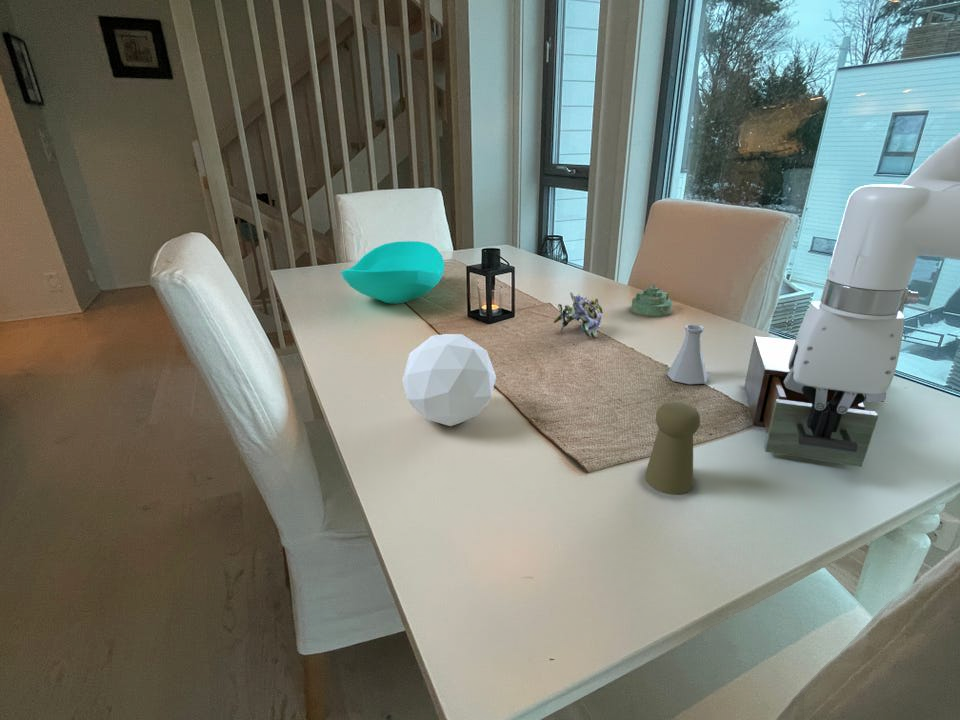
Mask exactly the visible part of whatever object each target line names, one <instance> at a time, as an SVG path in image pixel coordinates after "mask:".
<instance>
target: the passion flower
mask: <svg viewBox="0 0 960 720" xmlns="http://www.w3.org/2000/svg"><path fill="white" fill-rule="evenodd" d="M569 294H570V298H571V301H572V306H571V307H570V304H565V305H564V309H563V304H561V303H558V305H557V308H558V311H559V312H560V314H559V316H557V317H556V318H555V319H554V321H553V324H556V323H558V321H561V320H562V323H561V326H560V332H562V331H563V330H564V328H565V327H567V326H568V325H569V323H570V322H572V321H573V320H576V321H577V322H580V321H581V325H580V331H582V332H583V333H585V336H587V337H588V338H591V337H592V338H598V333H597V330H598V329H600V328H601V325H600V324H601V323H602V322H601V320H602V314H603V313H604V312H603V307H602V306H601V305H600V303H599V299H598V298H595V299H594V298H591V299H588V298H587V297H583V296H581V295H580V293H577V295H574V293H573V292H570V293H569Z"/></svg>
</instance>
